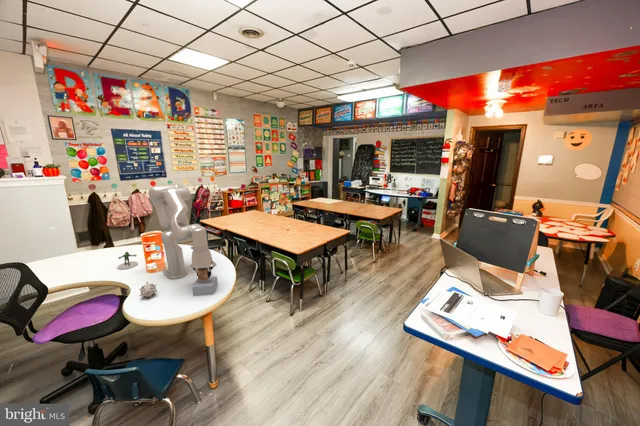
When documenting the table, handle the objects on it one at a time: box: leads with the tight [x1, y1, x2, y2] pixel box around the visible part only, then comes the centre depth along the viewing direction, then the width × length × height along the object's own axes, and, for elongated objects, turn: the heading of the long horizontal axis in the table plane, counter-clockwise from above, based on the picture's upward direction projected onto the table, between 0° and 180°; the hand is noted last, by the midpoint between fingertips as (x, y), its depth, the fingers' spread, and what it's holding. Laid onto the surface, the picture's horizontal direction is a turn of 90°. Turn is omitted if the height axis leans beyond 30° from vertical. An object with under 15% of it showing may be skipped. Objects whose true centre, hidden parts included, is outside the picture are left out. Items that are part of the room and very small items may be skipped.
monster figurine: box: [116, 251, 139, 271], centre depth 179 cm, size 12×12×10 cm
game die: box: [138, 281, 157, 299], centre depth 142 cm, size 9×8×10 cm
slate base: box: [191, 275, 219, 297], centre depth 148 cm, size 11×11×6 cm
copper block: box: [197, 268, 209, 280], centre depth 146 cm, size 5×5×6 cm
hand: (204, 276), depth 147 cm, fingers closed on copper block, 4 cm apart
